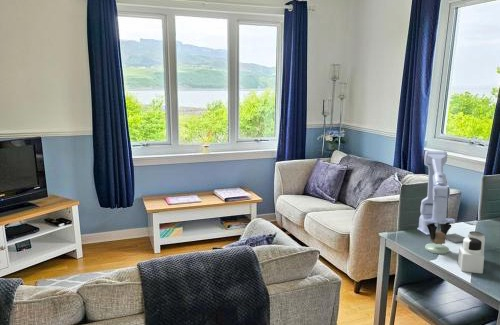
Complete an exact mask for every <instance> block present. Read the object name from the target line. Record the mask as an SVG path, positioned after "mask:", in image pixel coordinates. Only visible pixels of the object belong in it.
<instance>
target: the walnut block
mask: <svg viewBox="0 0 500 325" xmlns="http://www.w3.org/2000/svg"><path fill="white" fill-rule="evenodd" d="M446 235H447V234H444V233H443V232H441V230H437V231H436V232H435V239H434V240H433V239H431V237H430V238H429V241H430V242H431V243H435V244H441V245H445V244H446V239H445V238H446Z"/></svg>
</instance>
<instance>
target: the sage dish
mask: <svg viewBox="0 0 500 325" xmlns="http://www.w3.org/2000/svg"><path fill="white" fill-rule="evenodd" d="M424 250H426V251H427V252H428V253H432V254H437V255H447V254H448V253H449V251H450V248H449V247H448V246H447V245H445V244H435V243H433V242H431V243H430V242H429V243H426V244H425V247H424Z"/></svg>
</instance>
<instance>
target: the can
mask: <svg viewBox="0 0 500 325" xmlns="http://www.w3.org/2000/svg"><path fill="white" fill-rule="evenodd" d="M469 237H471V238H476V239H478V240H480V241H481V242H482V245H481V252H482V254H483V255H484V253H485V243H486V237H485V233H483V232H480V231H476V230H475V231H474V230H472V231H469V232H468V235H467V238H469ZM484 256H485V255H484Z"/></svg>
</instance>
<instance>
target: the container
mask: <svg viewBox="0 0 500 325" xmlns="http://www.w3.org/2000/svg"><path fill="white" fill-rule="evenodd" d="M481 245H482V242H481V241H480V240H478V239H476V238H471V237H469V238H468V237H465V239H463V242H462V246H459V249H458V260H457V264H458V266H459V268H460V271H462V272H464V273H465V272H466V273H474V274H483V273H484V263H485V262H484V261H485V255H483V254H482V252H481Z"/></svg>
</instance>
